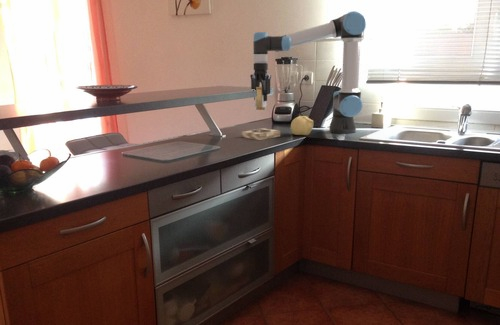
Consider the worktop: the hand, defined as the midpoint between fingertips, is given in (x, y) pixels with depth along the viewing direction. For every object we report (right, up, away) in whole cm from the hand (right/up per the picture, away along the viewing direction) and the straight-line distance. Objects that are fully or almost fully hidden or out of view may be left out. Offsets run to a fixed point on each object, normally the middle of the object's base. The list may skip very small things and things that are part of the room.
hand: (260, 106), depth 240 cm
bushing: (0, -1, 0) cm, 1 cm away
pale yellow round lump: (+23, -15, +8) cm, 29 cm away
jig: (0, -16, +4) cm, 16 cm away
